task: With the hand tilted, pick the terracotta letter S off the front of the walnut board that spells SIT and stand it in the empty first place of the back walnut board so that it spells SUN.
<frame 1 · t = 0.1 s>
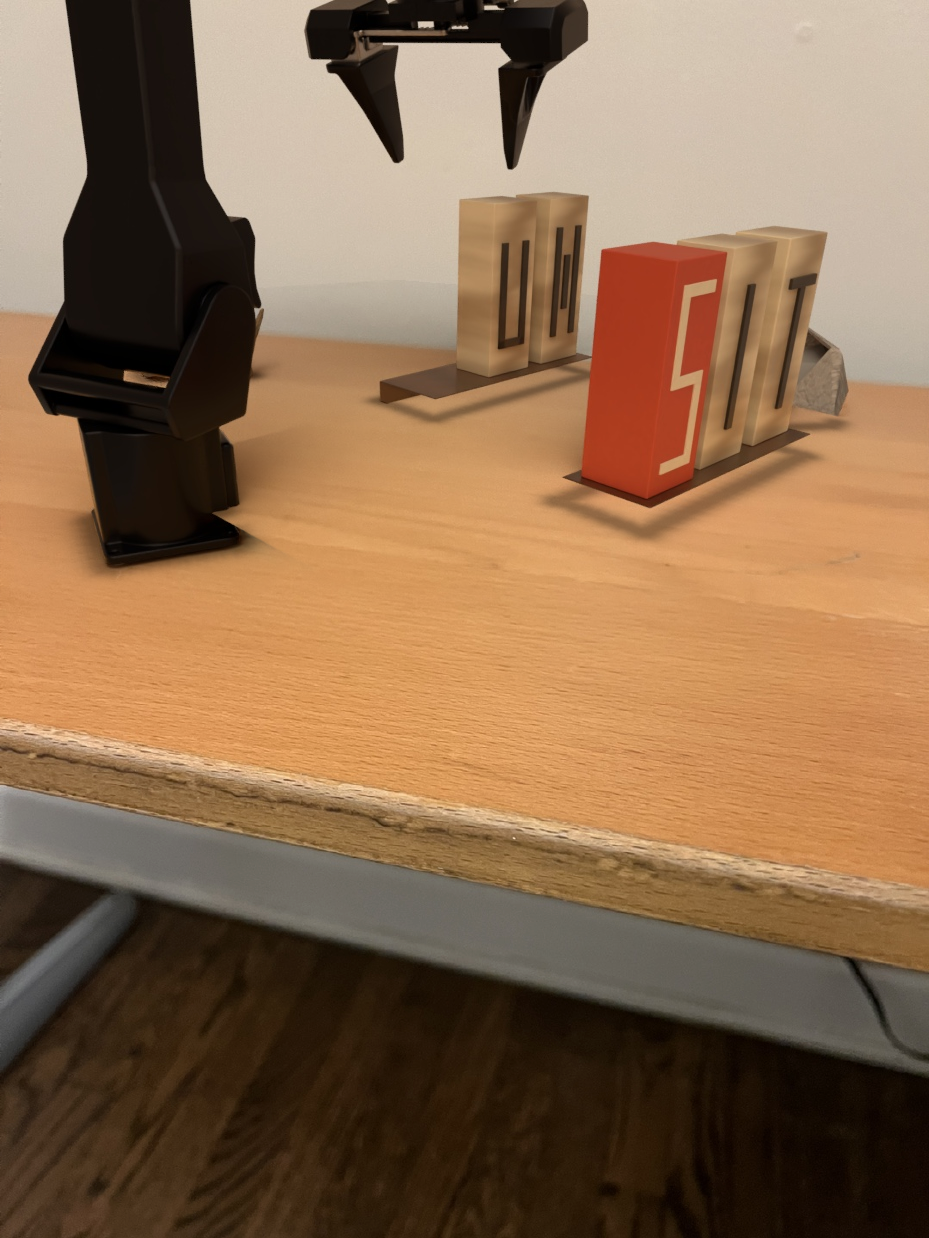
hand: (454, 164, 67), 15 cm above the table, tool pointing down, fingers open, 9 cm apart
letter s: (636, 478, 51), point 1 cm above the table, touching sit board
sun board: (491, 387, 72), on the table
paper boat: (782, 411, 69), on the table
eagle figurine: (204, 375, 74), on the table
sit board: (691, 477, 56), on the table
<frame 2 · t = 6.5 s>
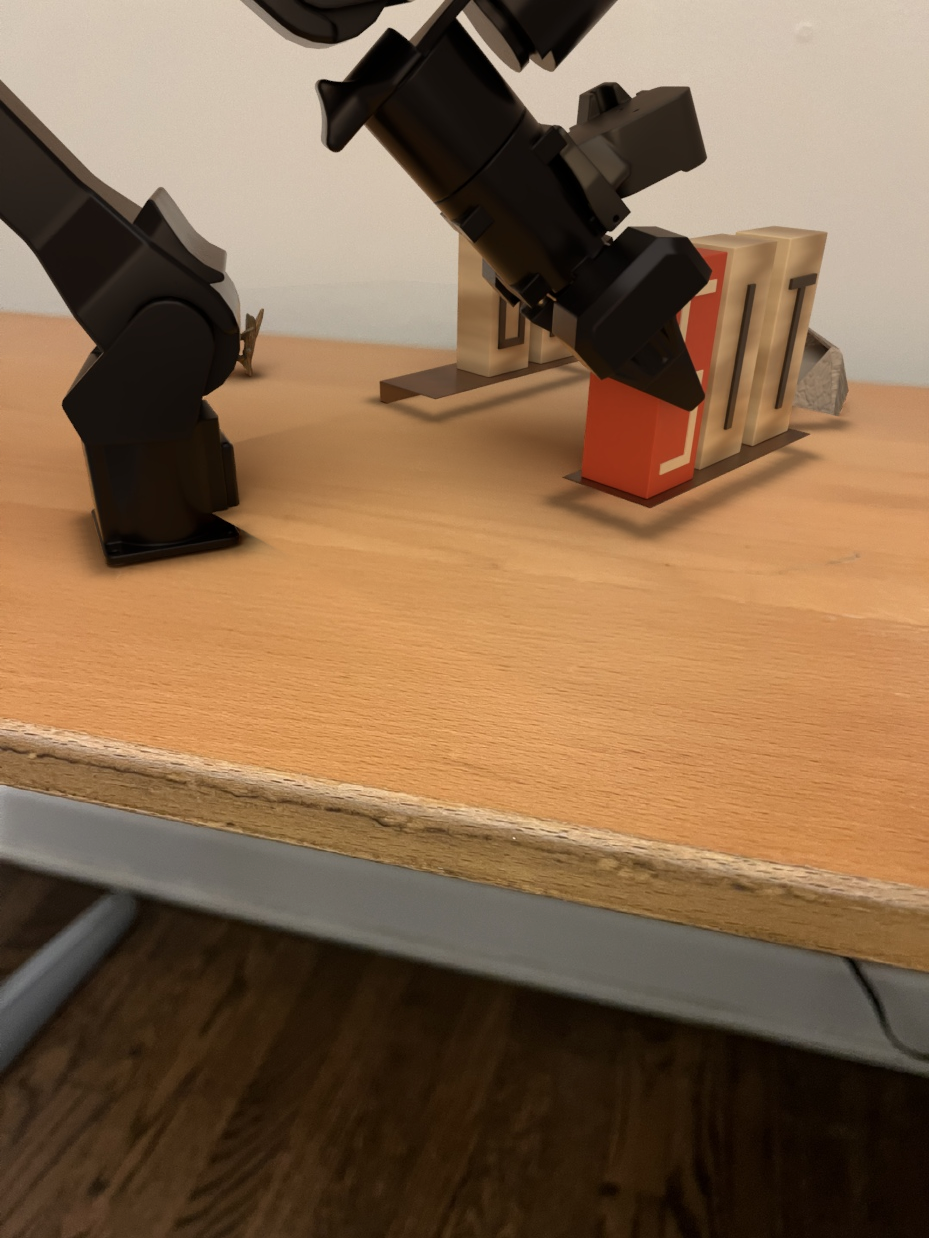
hand: (672, 386, 49), 7 cm above the table, tool tilted 45°, fingers closed on letter s, 6 cm apart
letter s: (636, 478, 51), point 2 cm above the table, touching gripper, sit board
everything else where it was.
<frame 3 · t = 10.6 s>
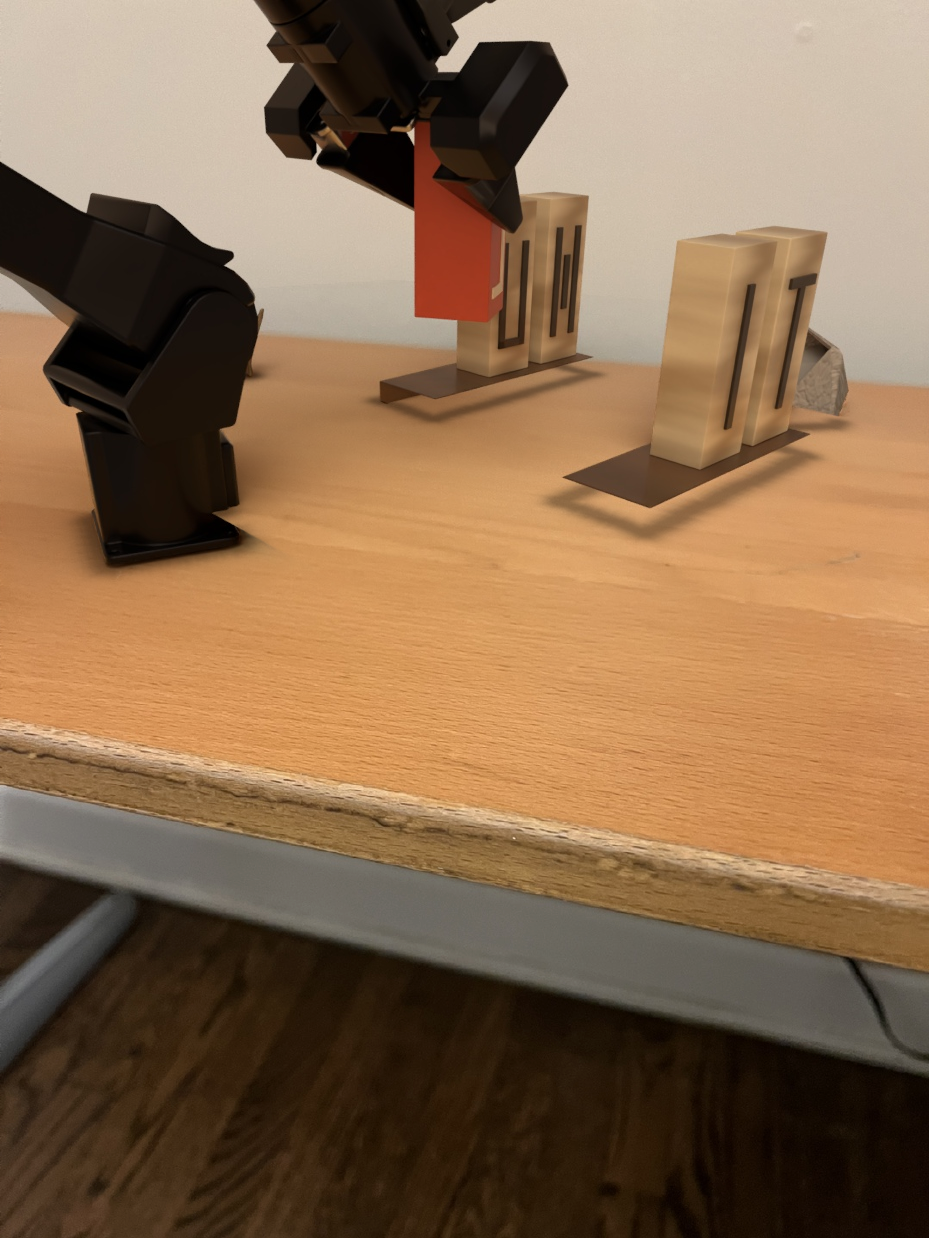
hand: (478, 221, 54), 13 cm above the table, tool tilted 45°, fingers closed on letter s, 6 cm apart
letter s: (459, 313, 56), point 8 cm above the table, touching gripper
everything else where it was.
when the fingers open (7 cm above the table, at t = 14.9 s): letter s stays where it is, resting on sun board.
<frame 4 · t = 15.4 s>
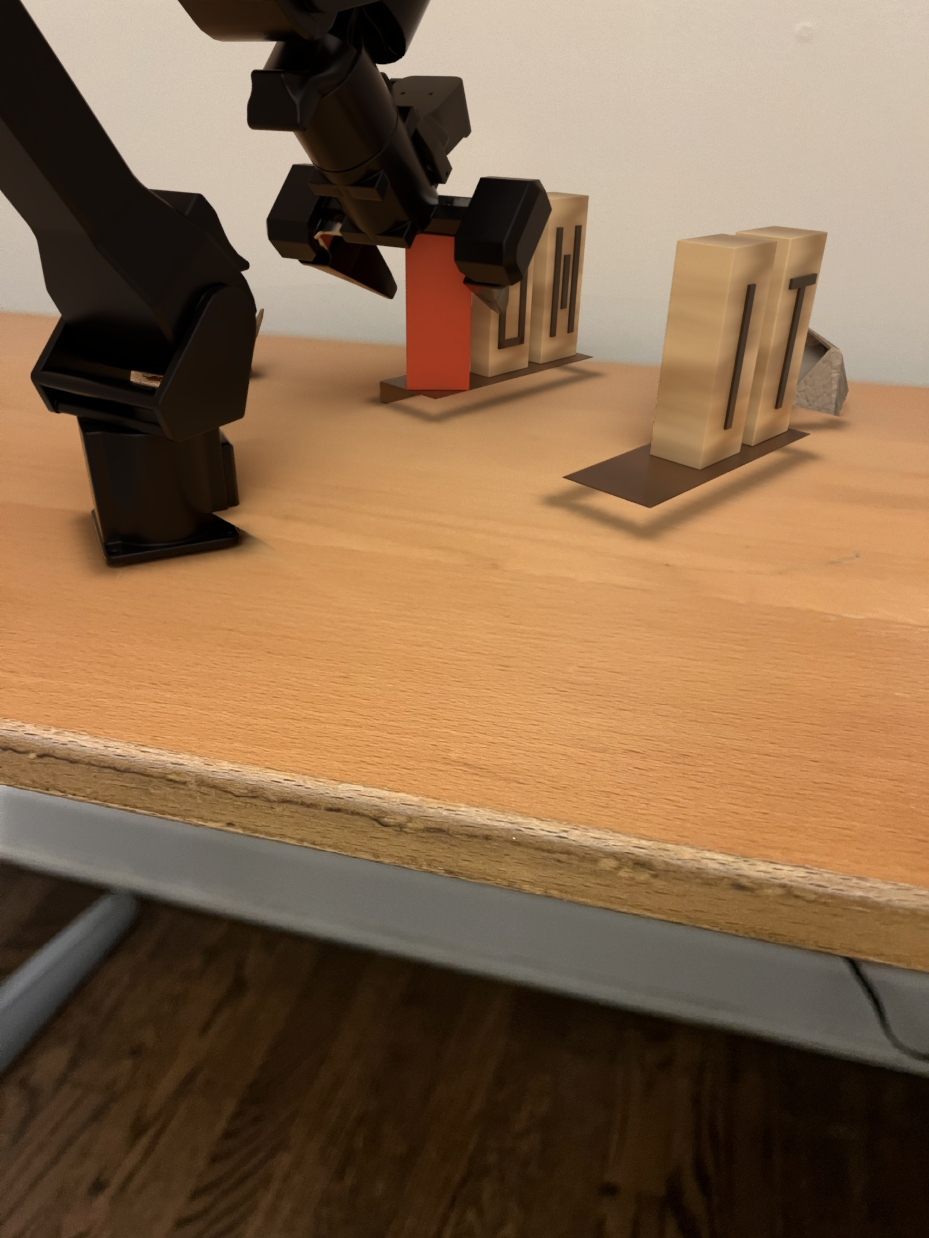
hand: (447, 301, 66), 7 cm above the table, tool tilted 45°, fingers open, 9 cm apart
letter s: (437, 381, 67), point 1 cm above the table, touching sun board
everything else where it was.
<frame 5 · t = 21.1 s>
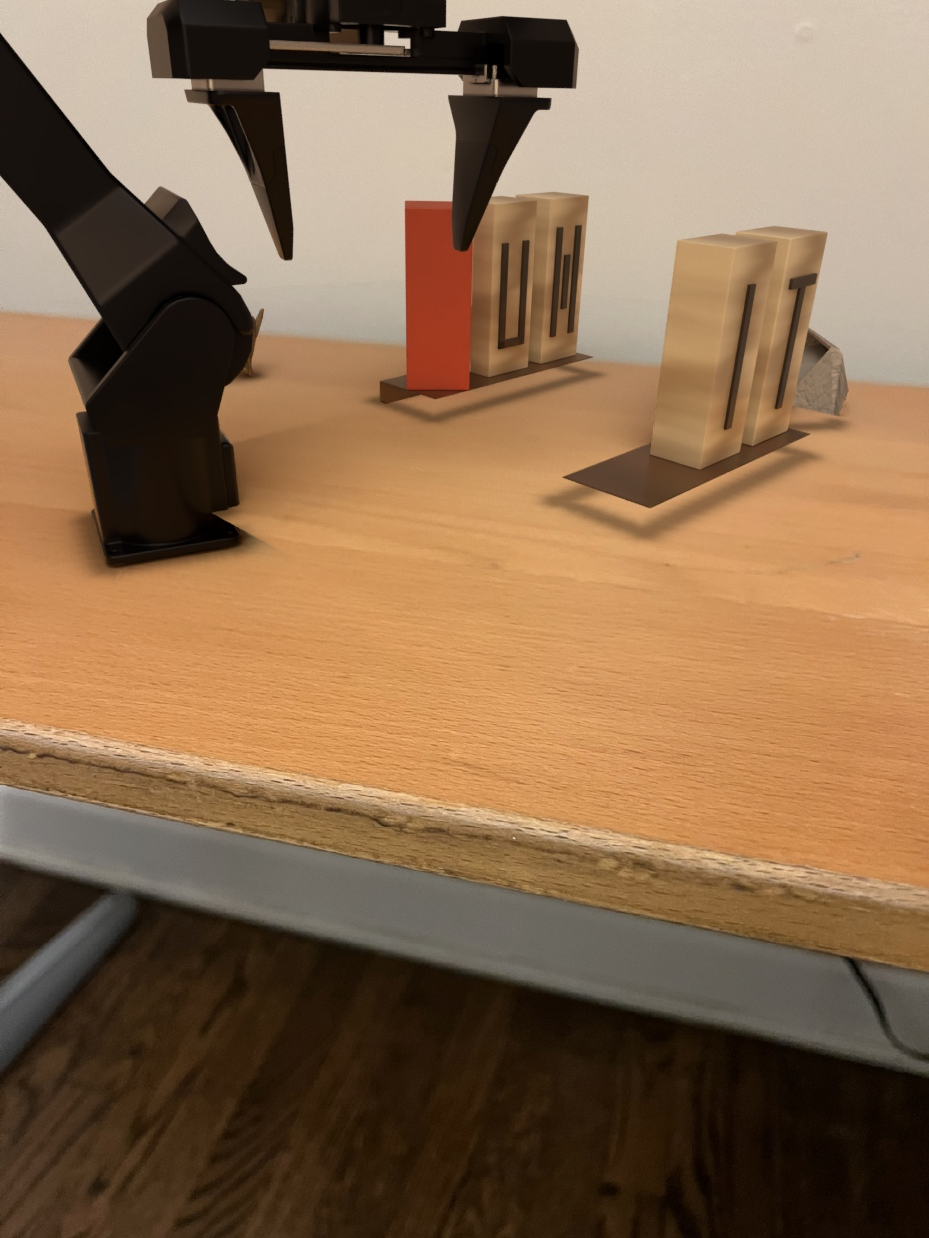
hand: (376, 255, 45), 13 cm above the table, tool pointing down, fingers open, 9 cm apart
nothing on the table moved.
at the end: letter s 0.1 cm from the target spot on the sun board, point 1.5 cm above the sun board's base; letter s tilted 0°; the gripper is holding nothing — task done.
